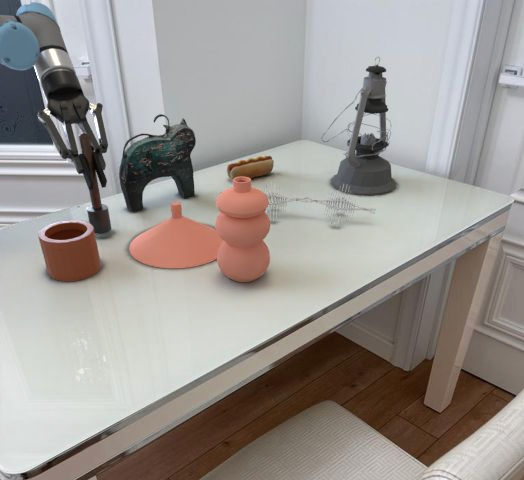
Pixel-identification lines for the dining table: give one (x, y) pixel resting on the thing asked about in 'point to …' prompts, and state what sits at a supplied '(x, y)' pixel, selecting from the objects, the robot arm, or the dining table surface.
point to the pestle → (94, 192)
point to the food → (250, 167)
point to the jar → (70, 250)
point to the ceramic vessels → (213, 236)
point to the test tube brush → (315, 201)
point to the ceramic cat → (157, 163)
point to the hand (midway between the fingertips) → (97, 185)
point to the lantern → (367, 143)
